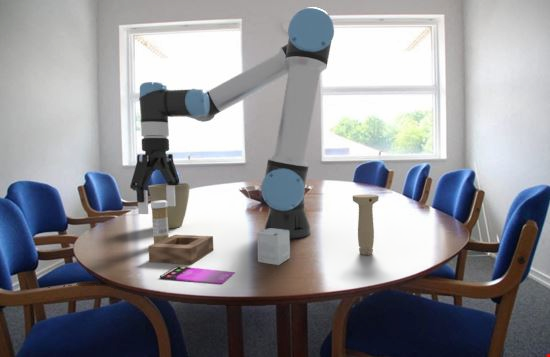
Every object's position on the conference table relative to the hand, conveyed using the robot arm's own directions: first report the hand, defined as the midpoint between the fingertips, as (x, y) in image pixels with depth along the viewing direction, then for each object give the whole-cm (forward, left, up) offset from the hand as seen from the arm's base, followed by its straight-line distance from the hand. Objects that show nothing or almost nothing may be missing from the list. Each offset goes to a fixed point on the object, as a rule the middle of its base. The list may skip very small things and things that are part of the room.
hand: (158, 209), depth 98 cm
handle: (-59, -2, -11) cm, 60 cm away
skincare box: (-37, +7, -11) cm, 40 cm away
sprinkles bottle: (0, 0, -11) cm, 11 cm away
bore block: (-12, +8, -11) cm, 18 cm away
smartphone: (-23, +20, -11) cm, 33 cm away
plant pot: (+12, -24, -11) cm, 29 cm away
